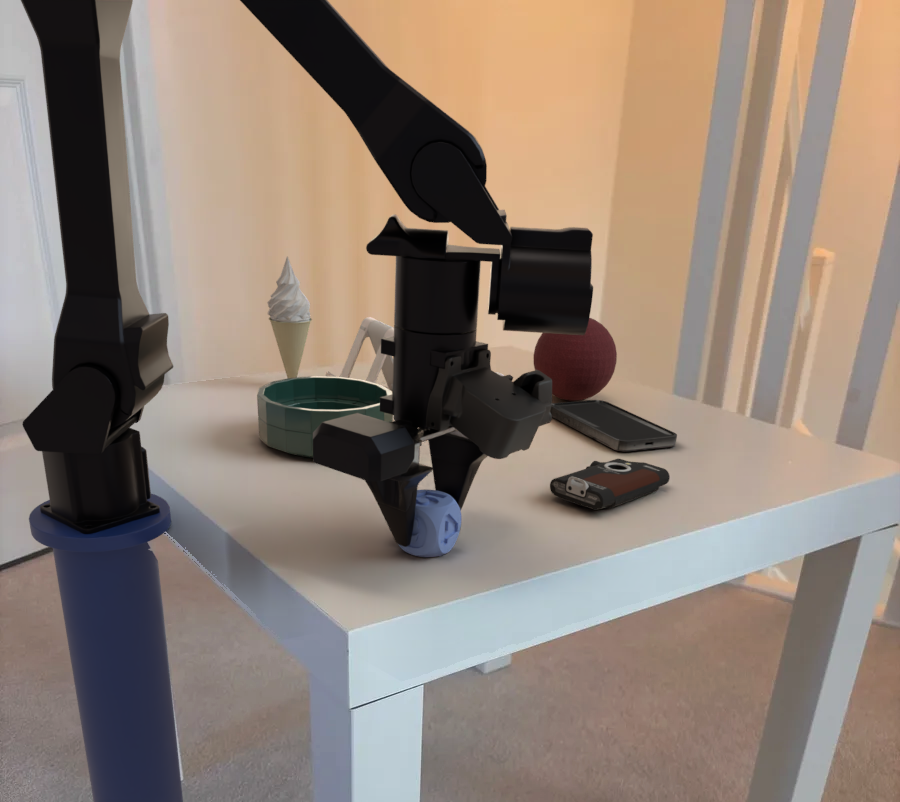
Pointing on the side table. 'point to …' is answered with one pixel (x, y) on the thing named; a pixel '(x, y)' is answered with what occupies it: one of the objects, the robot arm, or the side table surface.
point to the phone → (613, 425)
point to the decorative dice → (434, 524)
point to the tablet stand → (381, 361)
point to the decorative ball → (577, 361)
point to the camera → (609, 483)
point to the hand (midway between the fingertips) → (426, 534)
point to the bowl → (312, 408)
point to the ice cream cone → (289, 319)
